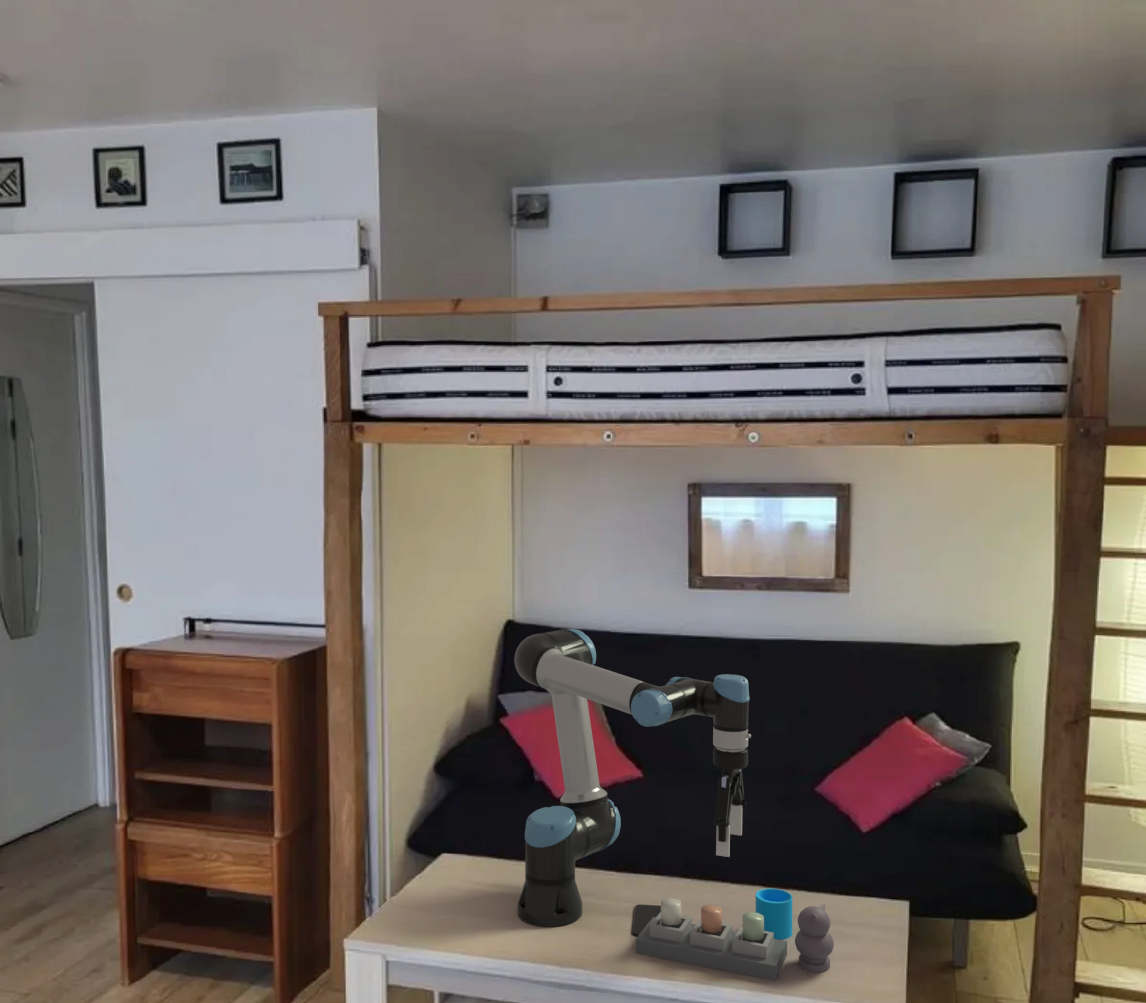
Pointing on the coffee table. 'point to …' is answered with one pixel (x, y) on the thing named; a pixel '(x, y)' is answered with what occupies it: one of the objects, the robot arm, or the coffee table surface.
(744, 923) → the sage button
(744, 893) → the coffee table surface
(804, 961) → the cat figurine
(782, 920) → the mug
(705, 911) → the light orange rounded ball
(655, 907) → the smartphone
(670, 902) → the ivory button
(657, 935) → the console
